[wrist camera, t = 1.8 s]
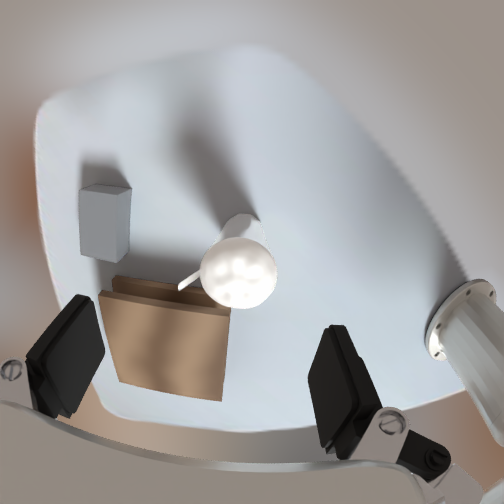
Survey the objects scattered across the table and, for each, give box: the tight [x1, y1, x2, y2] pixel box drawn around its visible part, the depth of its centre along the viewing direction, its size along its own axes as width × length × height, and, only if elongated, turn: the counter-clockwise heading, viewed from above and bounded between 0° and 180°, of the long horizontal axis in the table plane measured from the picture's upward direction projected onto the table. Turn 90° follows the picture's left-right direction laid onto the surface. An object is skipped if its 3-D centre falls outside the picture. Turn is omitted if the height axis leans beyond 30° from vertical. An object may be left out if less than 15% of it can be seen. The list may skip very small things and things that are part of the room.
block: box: [79, 184, 132, 263], centre depth 22 cm, size 4×6×3 cm, turn 169°
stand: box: [98, 275, 231, 402], centre depth 26 cm, size 12×12×4 cm
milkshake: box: [178, 213, 277, 309], centre depth 19 cm, size 4×5×10 cm
